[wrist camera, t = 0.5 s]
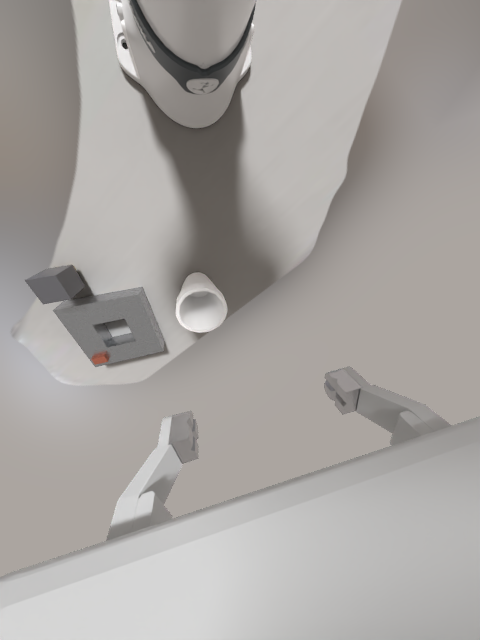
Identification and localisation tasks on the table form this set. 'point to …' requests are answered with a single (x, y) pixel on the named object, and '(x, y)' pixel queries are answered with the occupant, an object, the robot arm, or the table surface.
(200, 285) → the foam cup
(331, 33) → the table surface
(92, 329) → the socket
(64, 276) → the plug
